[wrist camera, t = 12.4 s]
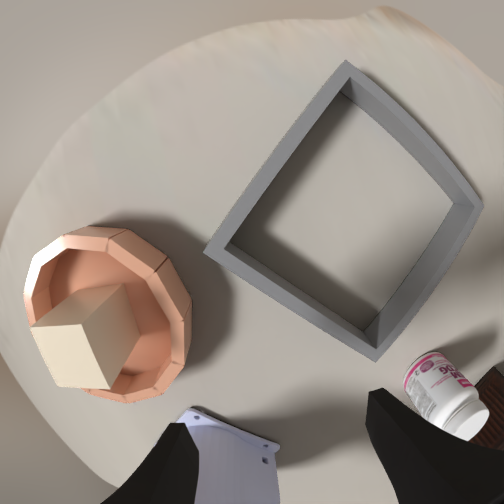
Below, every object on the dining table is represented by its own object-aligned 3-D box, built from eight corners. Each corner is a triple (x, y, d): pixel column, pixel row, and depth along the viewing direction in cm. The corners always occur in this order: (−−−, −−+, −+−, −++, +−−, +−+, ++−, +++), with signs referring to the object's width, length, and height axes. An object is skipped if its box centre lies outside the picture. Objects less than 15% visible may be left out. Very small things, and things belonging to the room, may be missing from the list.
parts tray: (463, 201, 18) (484, 205, 15) (363, 344, 20) (375, 362, 18) (332, 73, 16) (345, 59, 13) (207, 242, 18) (202, 252, 15)
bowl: (225, 294, 19) (223, 315, 16) (148, 400, 21) (139, 424, 18) (80, 193, 17) (55, 197, 14) (34, 318, 19) (14, 334, 16)
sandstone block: (123, 282, 18) (81, 324, 12) (140, 336, 19) (110, 389, 13) (77, 289, 18) (29, 327, 12) (94, 339, 19) (57, 386, 13)
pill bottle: (447, 344, 21) (501, 395, 13) (438, 383, 22) (481, 436, 14) (405, 358, 21) (455, 421, 13) (398, 398, 22) (437, 460, 14)
